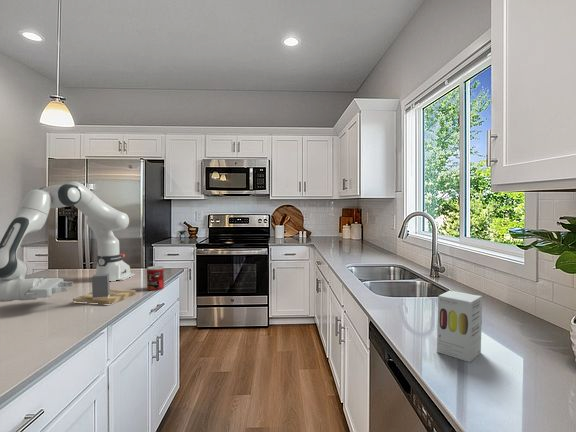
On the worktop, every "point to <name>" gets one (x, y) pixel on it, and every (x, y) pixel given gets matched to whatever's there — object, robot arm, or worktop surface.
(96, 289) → the block
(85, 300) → the oak board
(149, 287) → the canned food
